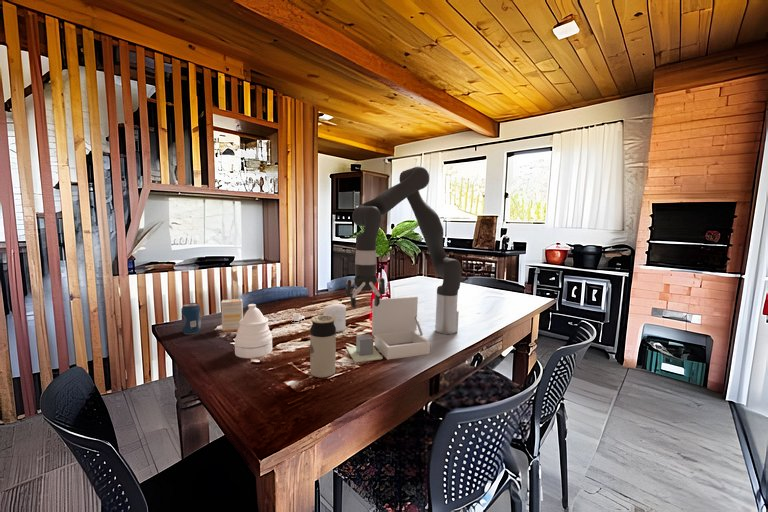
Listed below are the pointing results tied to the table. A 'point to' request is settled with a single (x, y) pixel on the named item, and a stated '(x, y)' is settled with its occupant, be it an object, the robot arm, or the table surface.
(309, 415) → the table surface
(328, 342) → the travel mug
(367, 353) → the block
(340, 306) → the photo printer
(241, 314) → the supplement box
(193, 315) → the soda can
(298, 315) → the teacup and saucer
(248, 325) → the honey pot
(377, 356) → the mat
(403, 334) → the case
